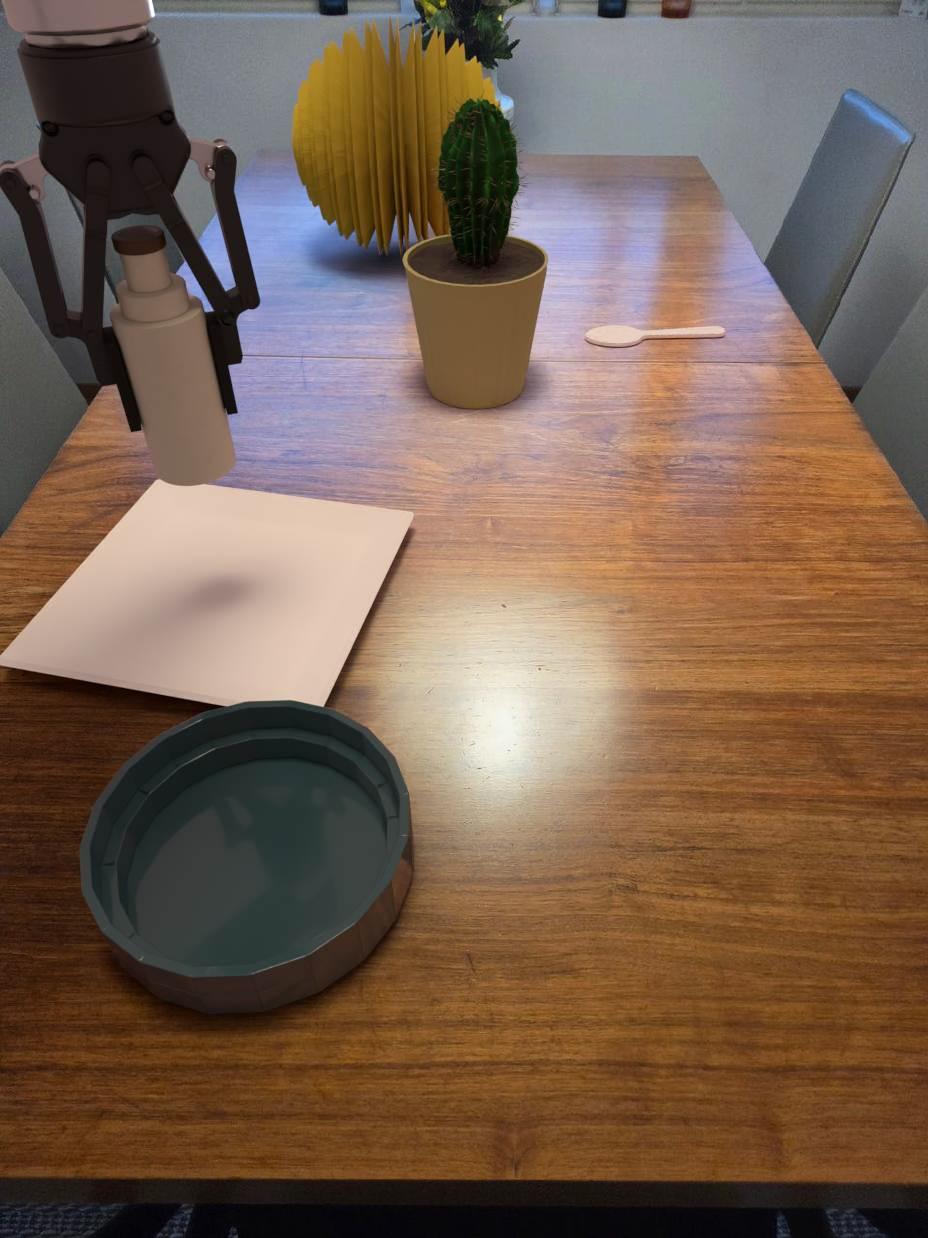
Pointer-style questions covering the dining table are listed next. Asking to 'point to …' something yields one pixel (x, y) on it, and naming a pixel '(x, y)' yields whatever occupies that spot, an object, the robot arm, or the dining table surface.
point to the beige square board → (218, 596)
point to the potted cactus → (476, 269)
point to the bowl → (249, 855)
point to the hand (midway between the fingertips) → (183, 413)
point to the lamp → (381, 132)
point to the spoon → (645, 334)
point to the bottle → (169, 363)
